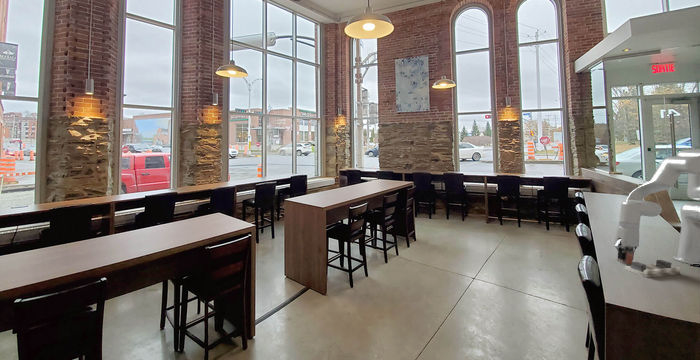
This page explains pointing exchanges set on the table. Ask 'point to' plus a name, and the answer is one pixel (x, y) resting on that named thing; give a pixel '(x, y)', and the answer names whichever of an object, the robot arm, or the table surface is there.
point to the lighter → (627, 256)
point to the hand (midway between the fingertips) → (625, 258)
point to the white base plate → (653, 269)
